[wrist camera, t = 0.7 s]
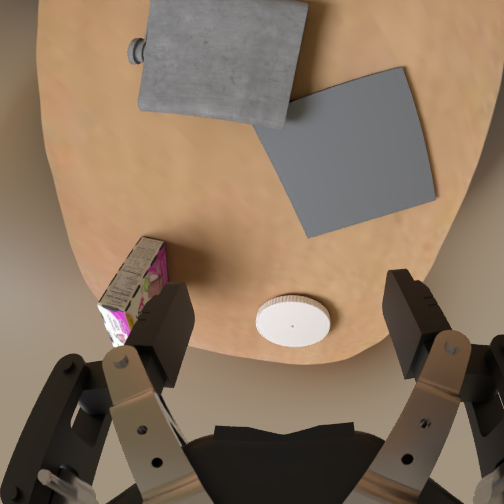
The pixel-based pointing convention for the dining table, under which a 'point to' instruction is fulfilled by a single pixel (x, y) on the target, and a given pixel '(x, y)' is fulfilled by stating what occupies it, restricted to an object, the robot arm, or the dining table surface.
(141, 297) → the candy bar box
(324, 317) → the plastic lid
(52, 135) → the dining table surface
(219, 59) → the hip flask
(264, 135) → the mat
